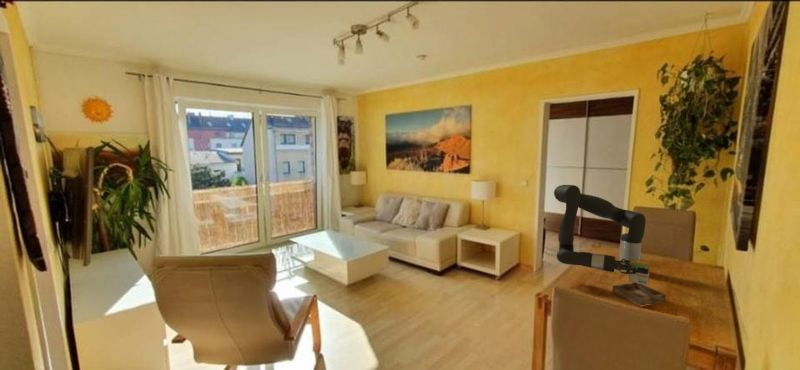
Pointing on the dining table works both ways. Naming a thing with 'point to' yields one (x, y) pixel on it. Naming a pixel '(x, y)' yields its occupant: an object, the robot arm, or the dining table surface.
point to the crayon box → (640, 277)
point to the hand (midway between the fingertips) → (647, 270)
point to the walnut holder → (639, 293)
